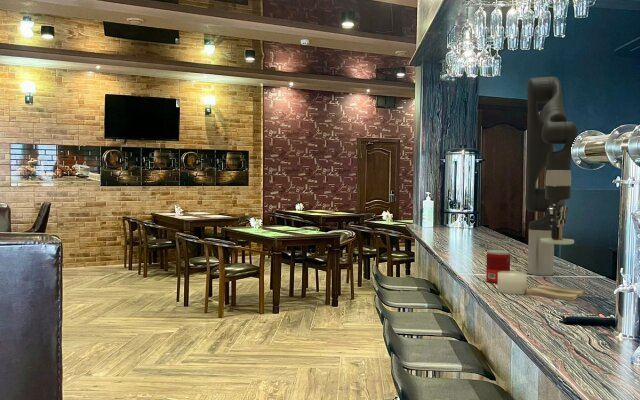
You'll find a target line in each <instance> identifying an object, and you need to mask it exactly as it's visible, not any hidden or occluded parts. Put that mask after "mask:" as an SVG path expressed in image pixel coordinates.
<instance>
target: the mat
mask: <svg viewBox="0 0 640 400" xmlns="http://www.w3.org/2000/svg"><path fill="white" fill-rule="evenodd" d="M585 294H586V290H585V289H578V288H570V287H562V286H555V285H547V284H539V285H537V286H535V287H533V288H530V289H527V291H526V293H525V295H531V296H538V297H545V298H553V299H557V300H558V299H559V300H567V301H574V300H577V299H578V298H580V297H581V296H583V295H585Z"/></svg>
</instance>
